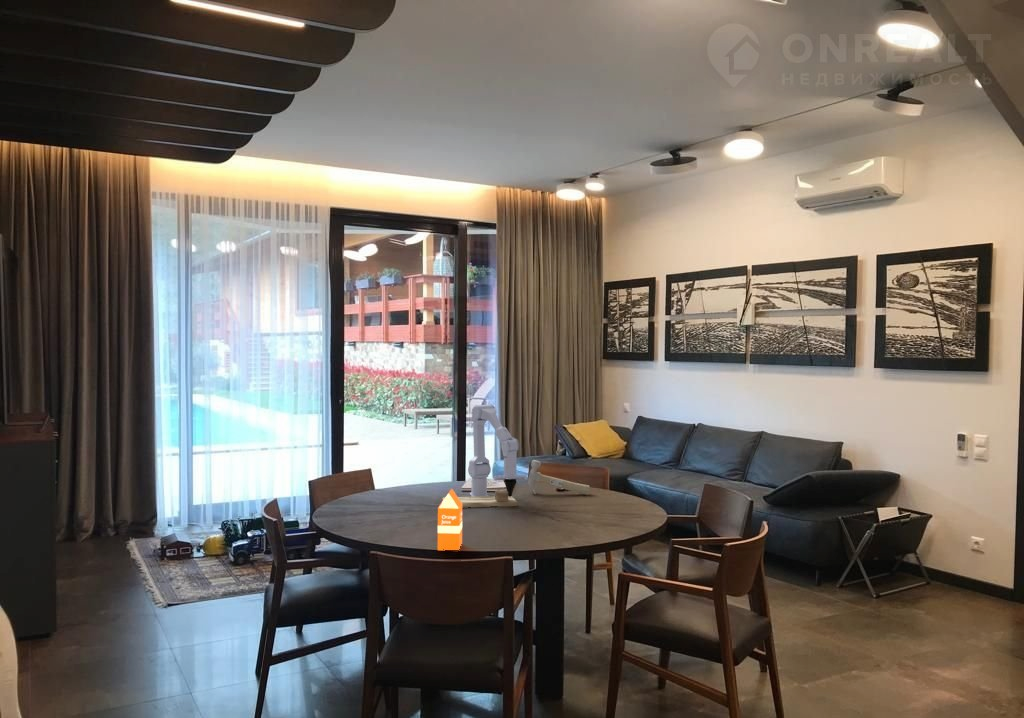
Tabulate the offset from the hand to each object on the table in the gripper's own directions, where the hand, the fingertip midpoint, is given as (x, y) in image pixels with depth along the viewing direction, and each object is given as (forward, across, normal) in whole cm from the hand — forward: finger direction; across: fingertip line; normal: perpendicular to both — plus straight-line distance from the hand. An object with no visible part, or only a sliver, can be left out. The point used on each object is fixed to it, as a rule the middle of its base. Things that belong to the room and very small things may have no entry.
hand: (509, 496), depth 318 cm
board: (+4, -13, +4) cm, 14 cm away
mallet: (+2, -4, +3) cm, 5 cm away
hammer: (+4, +28, +20) cm, 35 cm away
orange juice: (+4, -36, -65) cm, 74 cm away
